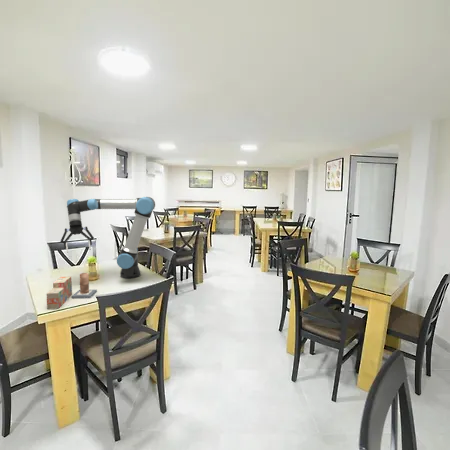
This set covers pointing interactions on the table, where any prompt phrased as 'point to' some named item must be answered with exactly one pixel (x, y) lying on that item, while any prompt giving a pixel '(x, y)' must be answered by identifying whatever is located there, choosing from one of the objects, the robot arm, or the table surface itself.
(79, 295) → the base board
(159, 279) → the table surface
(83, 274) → the column
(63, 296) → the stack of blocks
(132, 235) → the robot arm
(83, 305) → the table surface
